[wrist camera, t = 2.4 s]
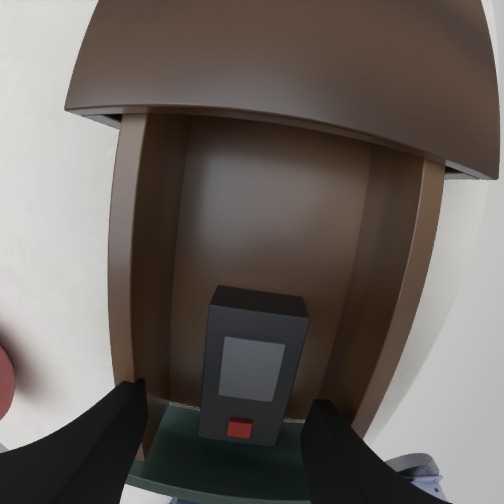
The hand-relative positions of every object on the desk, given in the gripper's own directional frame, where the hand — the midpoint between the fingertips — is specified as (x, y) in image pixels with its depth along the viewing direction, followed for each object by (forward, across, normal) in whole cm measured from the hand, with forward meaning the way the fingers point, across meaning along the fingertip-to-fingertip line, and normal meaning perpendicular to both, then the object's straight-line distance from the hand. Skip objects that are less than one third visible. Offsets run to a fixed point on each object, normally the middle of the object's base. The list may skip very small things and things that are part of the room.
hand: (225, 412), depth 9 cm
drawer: (+5, -1, -2) cm, 6 cm away
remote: (+4, -1, 0) cm, 4 cm away
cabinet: (+7, -1, -19) cm, 20 cm away
